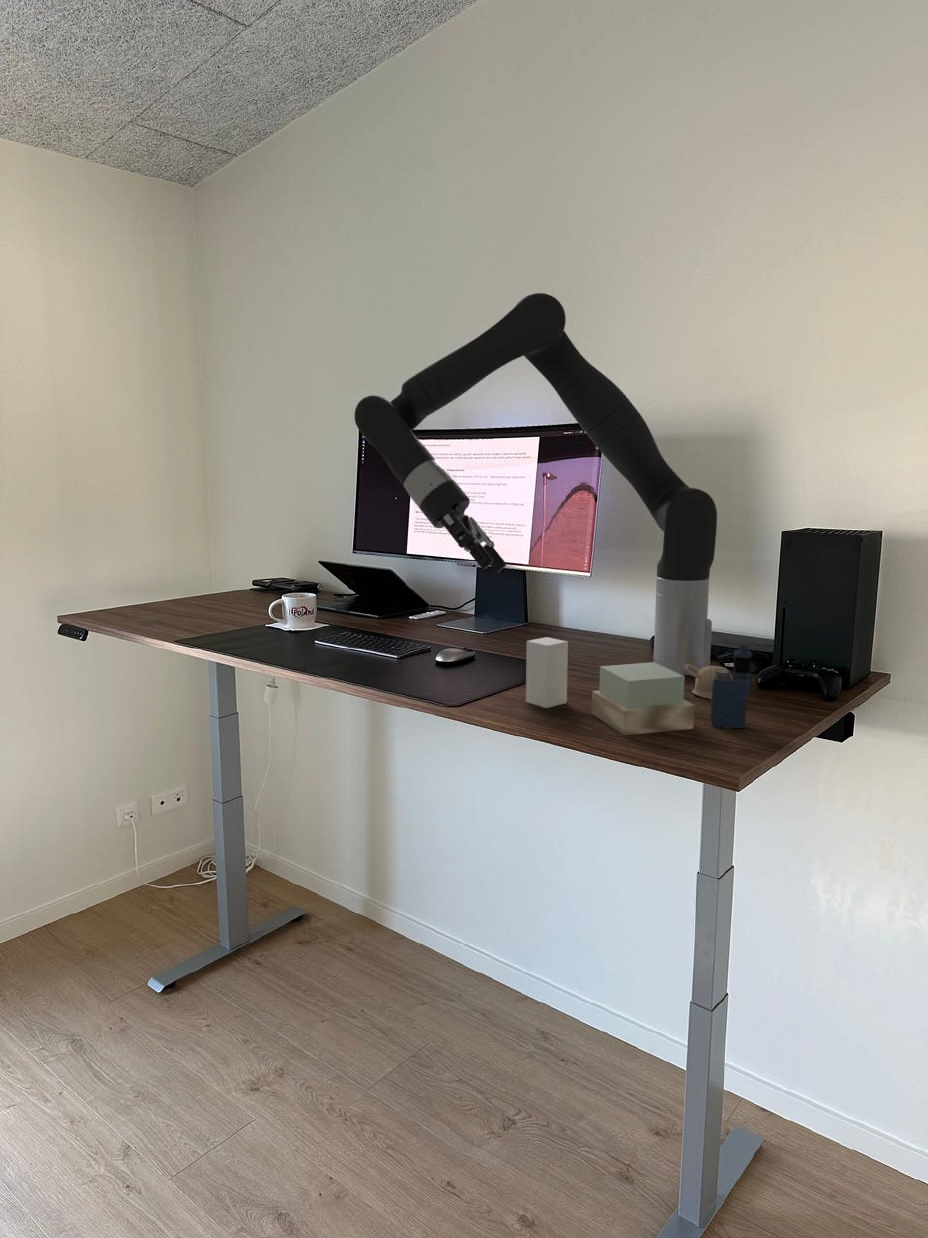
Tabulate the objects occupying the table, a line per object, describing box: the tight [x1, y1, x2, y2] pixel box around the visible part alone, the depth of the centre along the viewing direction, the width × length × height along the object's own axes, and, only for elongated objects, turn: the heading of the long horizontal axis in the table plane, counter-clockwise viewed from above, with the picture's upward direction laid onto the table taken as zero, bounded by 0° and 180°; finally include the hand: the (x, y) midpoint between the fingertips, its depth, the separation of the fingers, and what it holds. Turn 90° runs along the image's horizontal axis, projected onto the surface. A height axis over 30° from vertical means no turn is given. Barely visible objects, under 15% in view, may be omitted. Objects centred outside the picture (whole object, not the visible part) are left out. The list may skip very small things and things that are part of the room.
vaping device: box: [709, 644, 752, 729], centre depth 122 cm, size 3×5×12 cm, turn 78°
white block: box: [525, 636, 569, 709], centre depth 135 cm, size 5×5×10 cm
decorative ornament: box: [685, 664, 732, 700], centre depth 139 cm, size 4×8×5 cm, turn 78°
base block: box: [591, 690, 695, 736], centre depth 126 cm, size 11×11×4 cm
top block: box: [598, 661, 686, 708], centre depth 125 cm, size 9×9×4 cm
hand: (495, 567), depth 139 cm, fingers open, 8 cm apart
